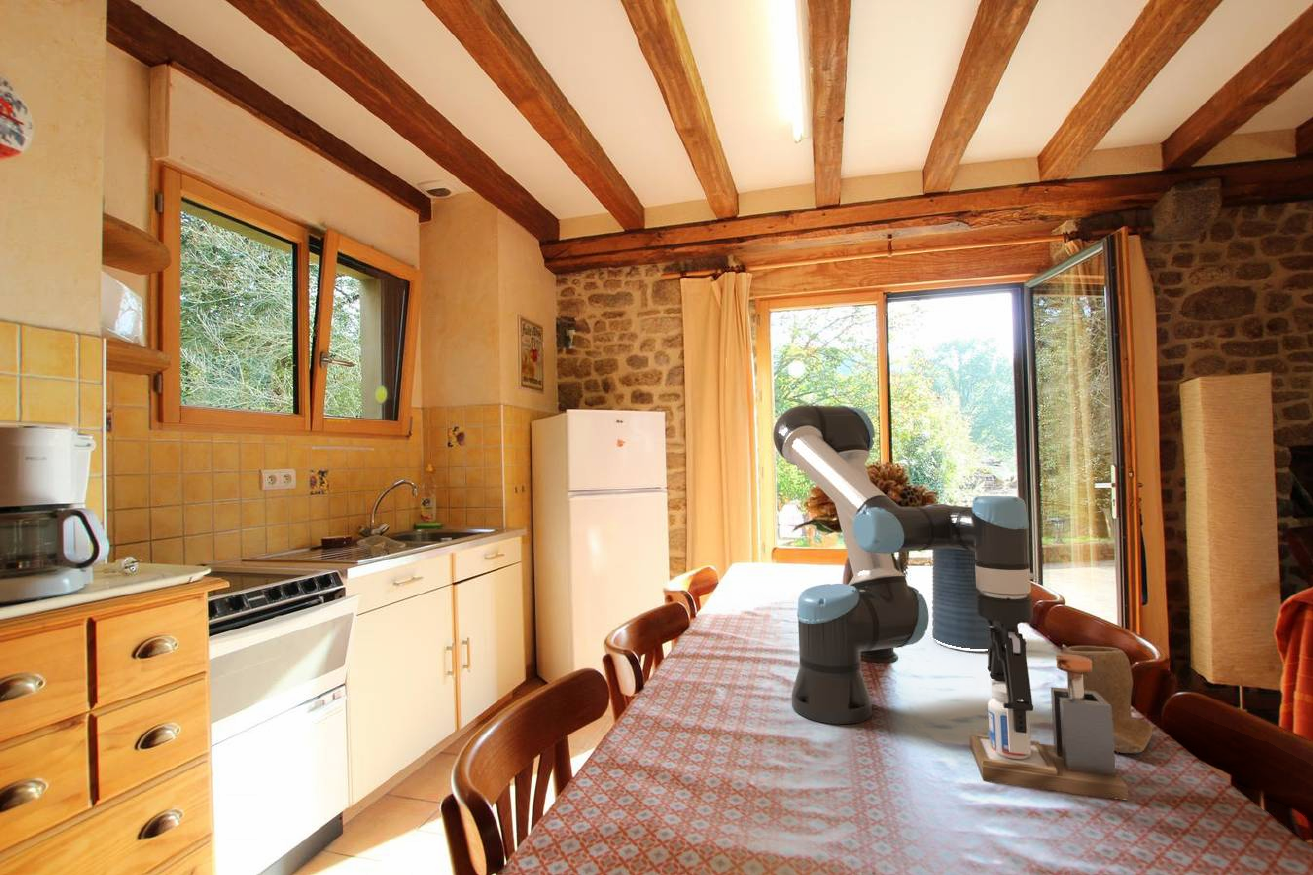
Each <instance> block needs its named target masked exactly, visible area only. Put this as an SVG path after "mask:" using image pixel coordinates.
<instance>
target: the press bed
mask: <svg viewBox="0 0 1313 875" xmlns="http://www.w3.org/2000/svg"><path fill="white" fill-rule="evenodd" d="M969 742H970V746H969V747H970V750H971V752H972V754H973V757H974V760H975V762H976V765H977V768H978V770H979V773H980V776H981V778H982V780H983V781H986V782H991V781H992V783H998V784H999V783H1000V784H1006V785H1013V786H1019V787H1020V786H1021V787H1025V786H1026V788H1033V789H1034V788H1035V789H1039V788H1040V789H1041V790H1046V789H1049V790H1048V791H1053V790H1056V791H1055V792H1060V791H1064V792H1063V793H1067V792H1068V793H1067V794H1076V795H1083V796H1087V797H1088V796H1089V797H1095V796H1097V798H1102V797H1107V798H1106V799H1108V798H1117V799H1127V800H1128V801H1129V791H1128V788H1129V787H1128V785H1127V784H1126V783H1125V781H1123V780H1122V778H1121V777H1120V776H1119V774H1118V773H1117V772H1116V777H1111V776H1104V775H1096V774H1089V773H1081V772H1074V771H1067V770H1066V768H1065V767H1064V765H1063V757H1057V755H1056V754H1055V752H1054V744H1046V743H1040V742H1039V741H1037V740H1031V739H1030V746H1031V755H1030V756H1029V757H1028V758H1026V759H1011V758H1007V757H1004V756H1001V755H999V754H997V753H995V752H994V751H993V750H992V748H991V744H990V734H989V735H988V734H982V733H981V734H979V733H974V732H973V733H972V732H971V734H970V735H969ZM1042 788H1043V789H1042ZM1058 790H1059V791H1058Z"/></svg>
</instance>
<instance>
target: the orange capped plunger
mask: <svg viewBox="0 0 1313 875" xmlns="http://www.w3.org/2000/svg"><path fill="white" fill-rule="evenodd" d="M1055 657H1056V668H1057V669H1058V670H1061V671H1063V672H1066V682H1067V683H1066V684H1067V689H1068V698H1070V699H1080V700H1084V687H1083V674H1091V673H1092V660H1090V659H1088V658H1086V657H1083V656H1078V655H1072V654H1064V653H1060V654H1056V656H1055Z"/></svg>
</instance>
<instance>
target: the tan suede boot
mask: <svg viewBox="0 0 1313 875" xmlns="http://www.w3.org/2000/svg"><path fill="white" fill-rule="evenodd" d="M1063 654H1072V655H1078V656H1083V657H1086V658H1088V659H1090V660H1092V673H1091V674H1083V687H1084V690H1086V691H1096V692H1097V693H1098V694H1099V695H1100V696H1101V697H1102V698H1103V699H1104V700H1105V701H1106V702H1108V703H1109V704H1110V705H1111V706H1112V722H1113V739H1114V751H1116V753H1119V752H1120V753H1121V754H1139V753H1141V752H1143V751H1144V750H1145V749H1146V747H1147V745H1148V744H1149V742H1150V741H1151V738H1152V734H1153V730H1154V728H1153V725H1152V724H1151V723H1150V722H1148V721H1145V720H1142V719H1139V718H1136V717H1134V716H1133V715H1132V694H1133V686H1134V678H1133V673H1132V668H1131V663H1130V660H1129V657H1128V656H1127V654H1126V652H1124V650H1122V649H1120V648H1117V647H1111V646H1096V645H1073V646H1067V647H1066V648H1065V649H1064V651H1063ZM1120 753H1119V754H1120Z"/></svg>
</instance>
